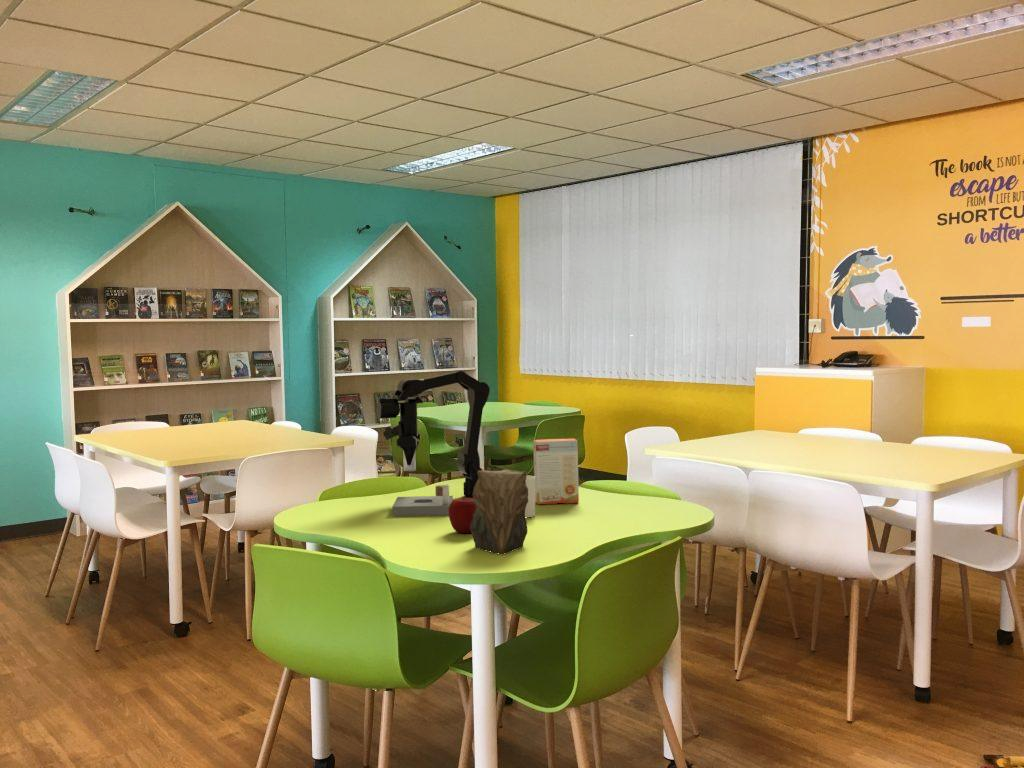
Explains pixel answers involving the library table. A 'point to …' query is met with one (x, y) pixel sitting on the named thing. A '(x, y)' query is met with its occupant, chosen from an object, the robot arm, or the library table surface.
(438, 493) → the short pin
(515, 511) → the owl
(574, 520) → the library table surface
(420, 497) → the grey peg base
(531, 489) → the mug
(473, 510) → the apple
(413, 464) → the long pin
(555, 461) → the cracker box
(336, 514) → the library table surface
